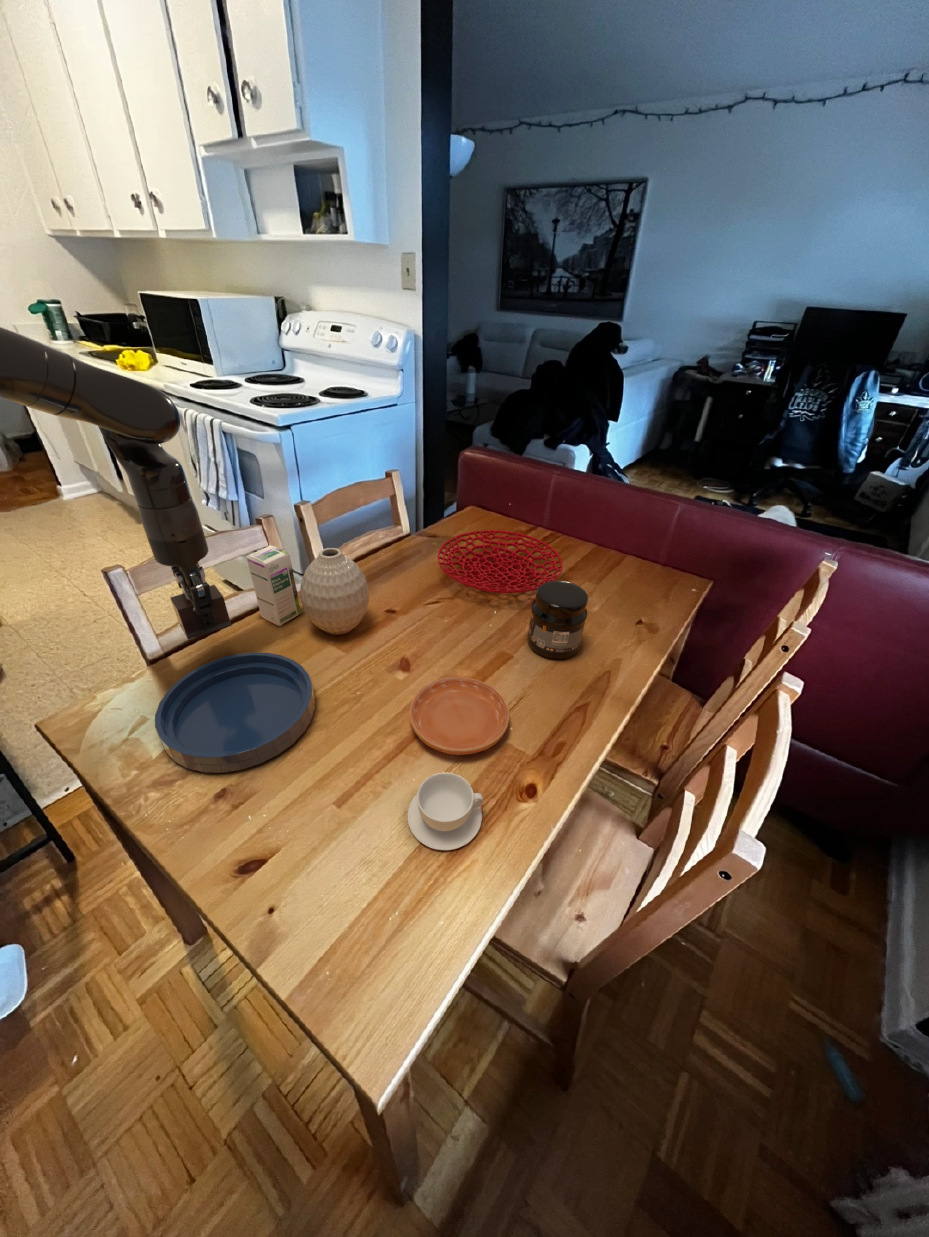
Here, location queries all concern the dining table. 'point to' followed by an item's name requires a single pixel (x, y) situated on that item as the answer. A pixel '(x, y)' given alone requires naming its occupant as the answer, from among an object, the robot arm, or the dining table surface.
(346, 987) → the dining table surface
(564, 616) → the supplement container
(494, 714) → the saucer
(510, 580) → the bowl
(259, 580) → the syrup box
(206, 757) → the glazed bowl
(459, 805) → the teacup
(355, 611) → the vase
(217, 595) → the dark brown block
